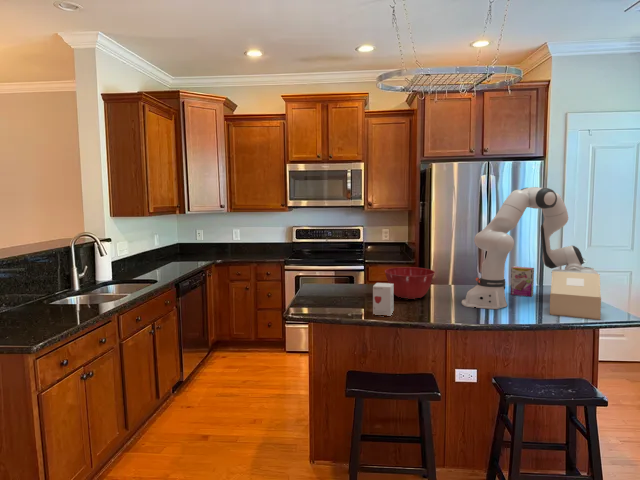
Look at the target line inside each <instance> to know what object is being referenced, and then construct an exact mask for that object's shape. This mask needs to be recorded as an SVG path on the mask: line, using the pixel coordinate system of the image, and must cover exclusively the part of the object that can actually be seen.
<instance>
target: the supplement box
mask: <svg viewBox="0 0 640 480" xmlns="http://www.w3.org/2000/svg"><path fill="white" fill-rule="evenodd" d="M394 295H395V294H394V284H390V283H388V282H376V283H375V284H373V286H372V315H373V314H375V315H387V316H391V315H392V316H393V314H394V313H393V311H394V309H395V308H394V304H395V303H394V302H395V301H394ZM394 312H395V311H394ZM392 313H393V314H392ZM392 316H391V317H392Z"/></svg>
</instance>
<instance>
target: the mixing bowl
mask: <svg viewBox="0 0 640 480" xmlns="http://www.w3.org/2000/svg"><path fill="white" fill-rule="evenodd" d="M384 273H385V276H386V280H387V283H390V284H394V295H395V296H396V297H397V298H399V297H401V298H408V299H414V300H416V299H415V298H420V299H421V298H424V296H425V295H426V294H427V293H428V291H429V289H430V288H431V287H430V286H431V285H432V282H433V279H434V275H435V271H434V270H433V269H430V268H424V267H414V266H413V267H411V266H410V267H408V266H405V267H403V266H402V267H392V268H391V267H390V268H387V269H385V270H384ZM401 298H400V299H401ZM408 299H407V300H408Z"/></svg>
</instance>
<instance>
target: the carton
mask: <svg viewBox="0 0 640 480" xmlns="http://www.w3.org/2000/svg"><path fill="white" fill-rule="evenodd" d="M549 295H550V296H549V315H551V316H560V317H570V318H580V319H581V318H582V319H587V320H588V319H589V320H600V321H601V310H602V309H601V308H602V297H601V298H593V297H581V296H569V295H557V294H551V292H550V293H549Z"/></svg>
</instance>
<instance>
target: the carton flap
mask: <svg viewBox="0 0 640 480" xmlns="http://www.w3.org/2000/svg"><path fill="white" fill-rule="evenodd" d="M551 272H552V273H551V283H550V284H551V285H550V293H551V294H557V295H569V296H581V297H593V298H601V299H602V296H601V295H602V294H601V276H600V275H601V274H600V273H598V274H589V273H572V272H554V271H552V270H551Z"/></svg>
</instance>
